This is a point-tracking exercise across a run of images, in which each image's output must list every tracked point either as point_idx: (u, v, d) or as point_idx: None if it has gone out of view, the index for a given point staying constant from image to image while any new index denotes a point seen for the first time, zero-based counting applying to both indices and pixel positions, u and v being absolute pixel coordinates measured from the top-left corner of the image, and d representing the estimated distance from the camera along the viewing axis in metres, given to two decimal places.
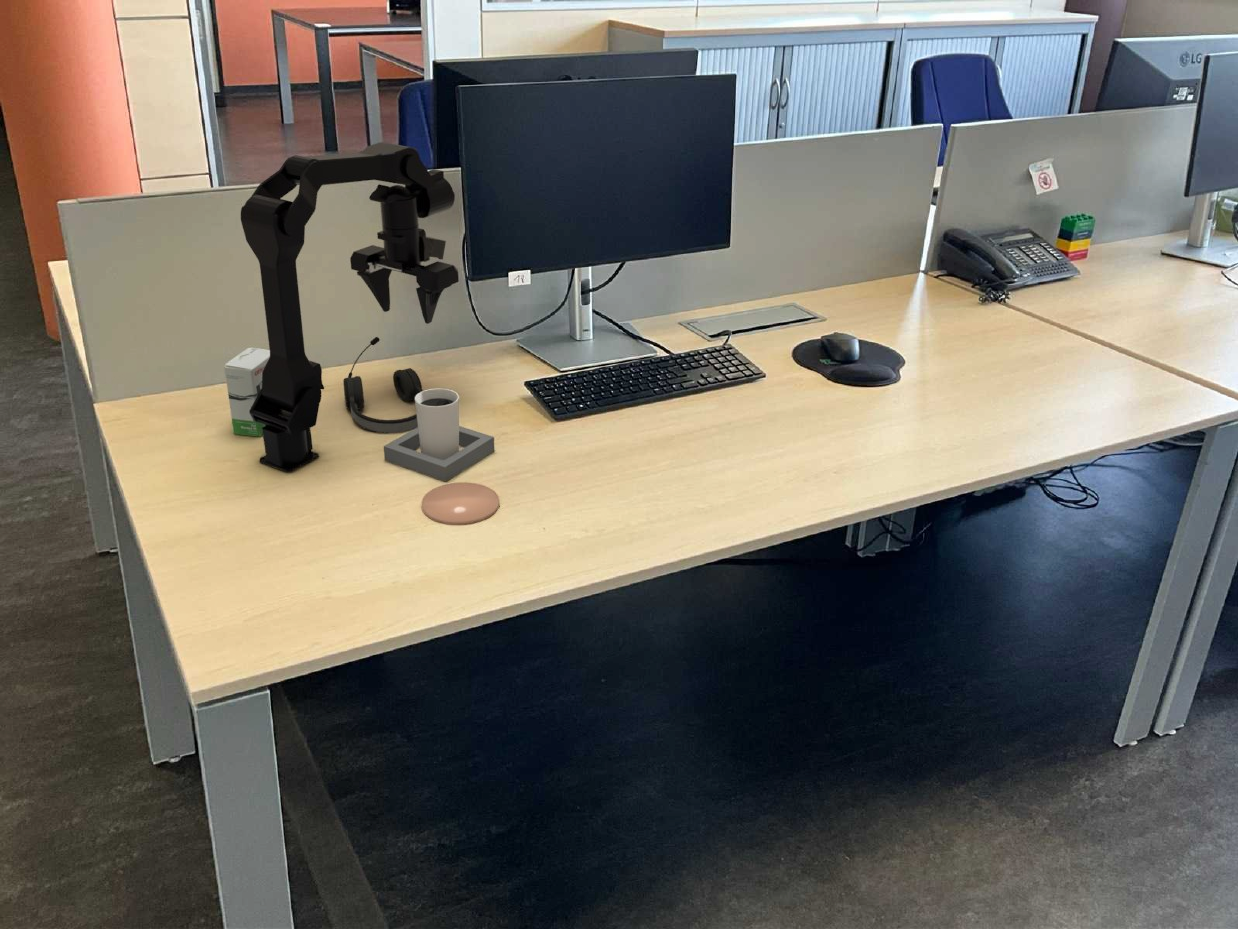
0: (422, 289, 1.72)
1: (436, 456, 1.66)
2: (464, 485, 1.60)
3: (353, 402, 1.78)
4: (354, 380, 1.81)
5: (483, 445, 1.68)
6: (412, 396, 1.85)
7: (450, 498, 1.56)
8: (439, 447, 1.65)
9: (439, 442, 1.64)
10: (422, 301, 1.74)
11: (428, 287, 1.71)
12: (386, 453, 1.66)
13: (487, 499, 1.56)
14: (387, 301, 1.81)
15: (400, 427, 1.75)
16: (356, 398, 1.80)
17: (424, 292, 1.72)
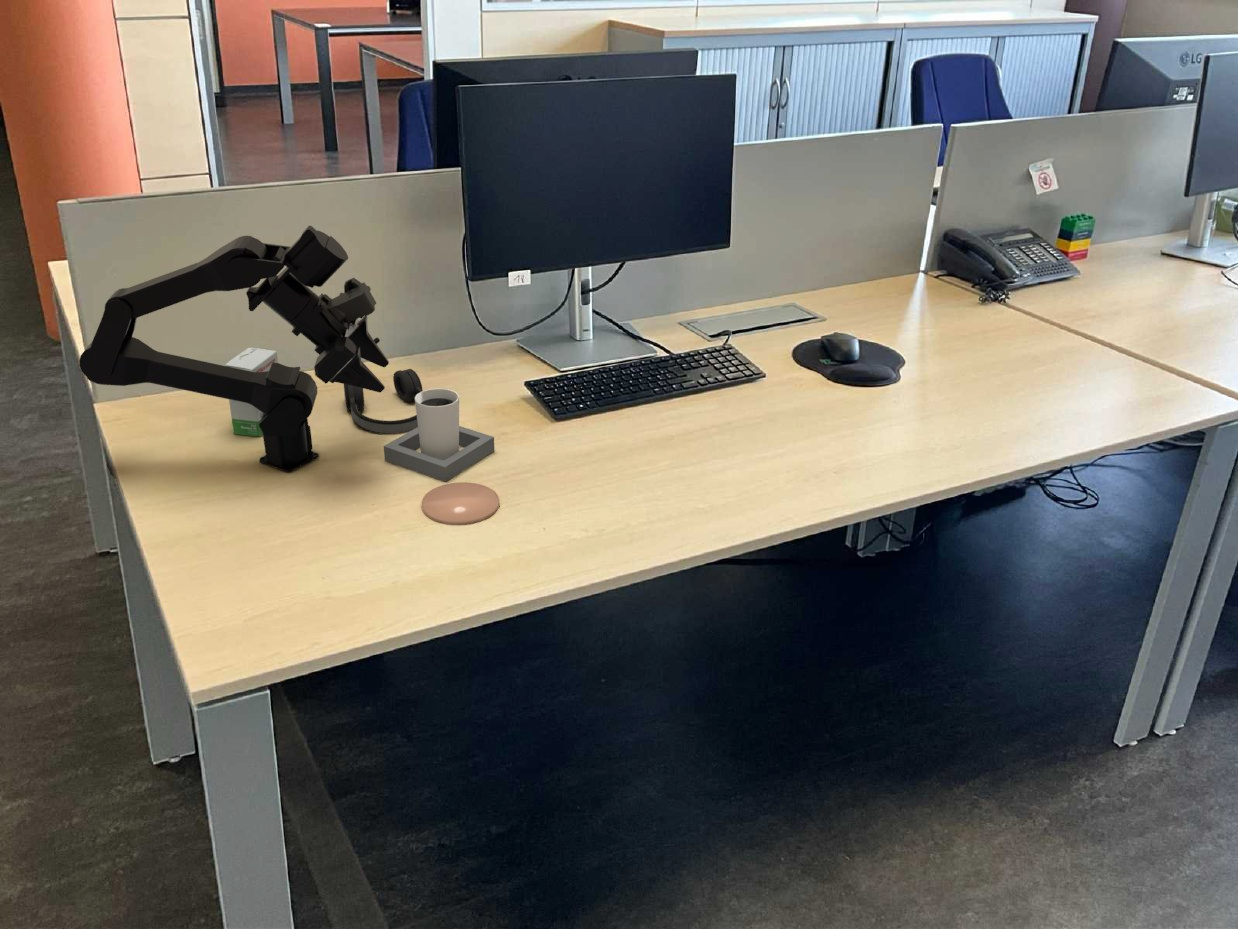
0: None
1: (436, 456, 1.66)
2: (464, 485, 1.60)
3: (353, 403, 1.78)
4: None
5: (483, 445, 1.68)
6: (412, 397, 1.84)
7: (450, 498, 1.56)
8: (439, 447, 1.65)
9: (439, 442, 1.64)
10: None
11: None
12: (386, 453, 1.66)
13: (487, 499, 1.56)
14: (379, 357, 1.65)
15: (400, 428, 1.75)
16: (356, 399, 1.80)
17: None
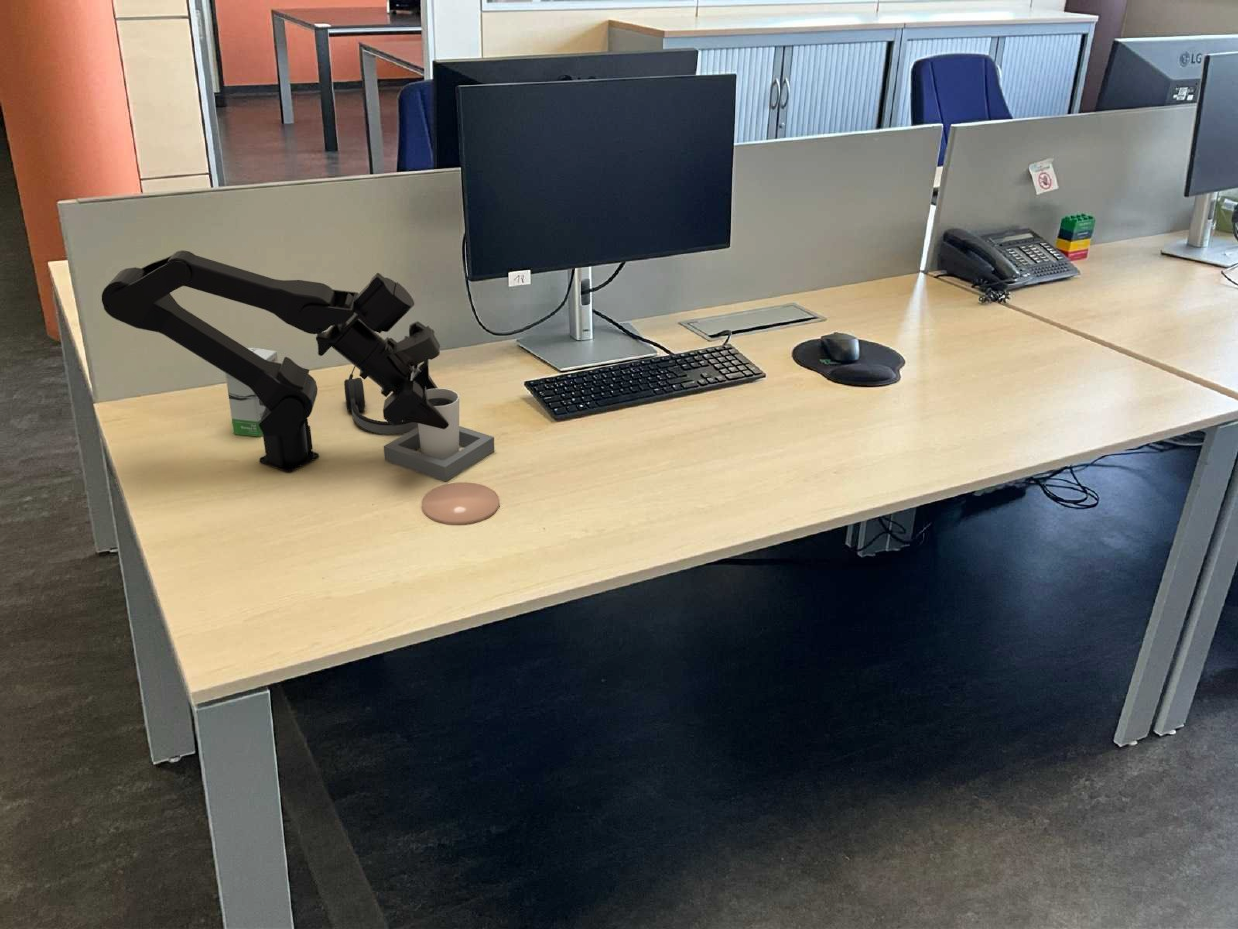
0: None
1: (436, 456, 1.66)
2: (464, 485, 1.60)
3: (353, 404, 1.78)
4: (355, 382, 1.81)
5: (483, 445, 1.68)
6: None
7: (450, 498, 1.56)
8: (439, 447, 1.65)
9: (439, 442, 1.64)
10: None
11: None
12: (386, 453, 1.66)
13: (487, 499, 1.56)
14: None
15: (401, 429, 1.75)
16: (357, 400, 1.80)
17: None
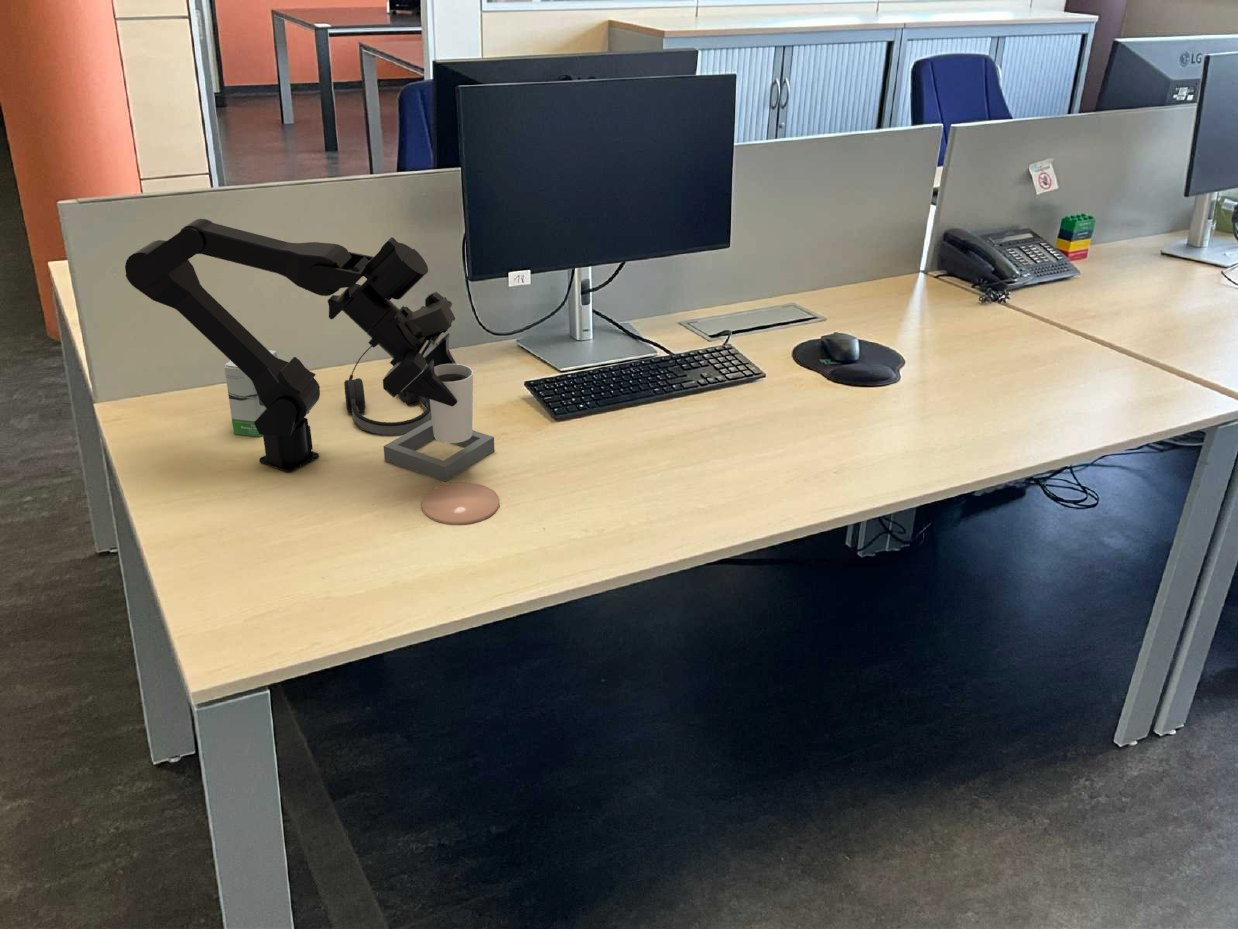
0: None
1: (445, 434, 1.59)
2: (464, 485, 1.60)
3: (354, 404, 1.78)
4: (355, 382, 1.81)
5: (483, 445, 1.68)
6: (413, 398, 1.84)
7: (450, 498, 1.56)
8: (448, 425, 1.58)
9: (448, 419, 1.57)
10: None
11: None
12: (386, 453, 1.66)
13: (487, 499, 1.56)
14: None
15: (402, 429, 1.75)
16: (357, 400, 1.79)
17: None
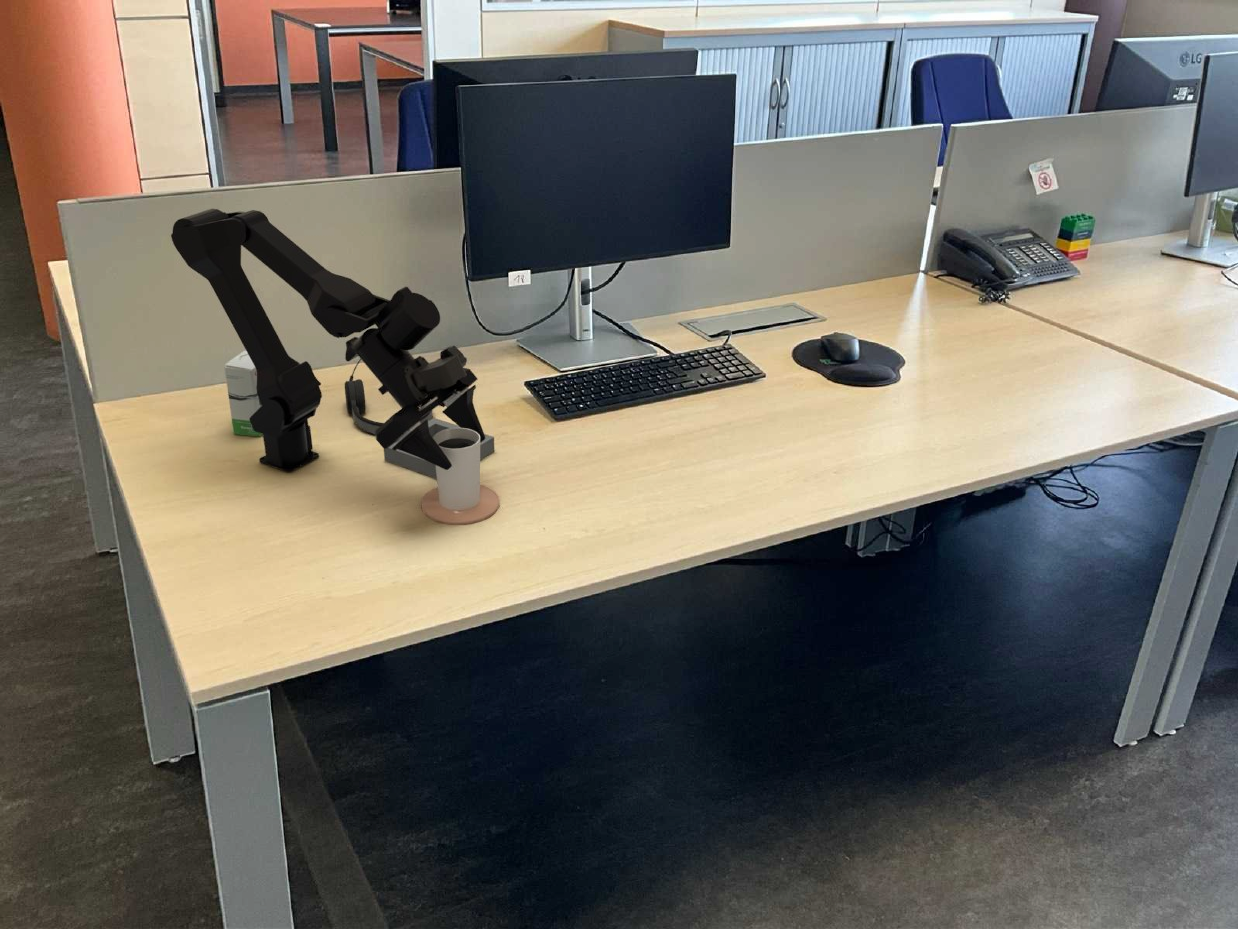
0: None
1: (446, 500, 1.53)
2: None
3: (354, 405, 1.77)
4: (355, 383, 1.80)
5: (483, 445, 1.68)
6: None
7: None
8: (448, 491, 1.52)
9: (448, 486, 1.51)
10: None
11: None
12: (386, 453, 1.66)
13: (487, 499, 1.56)
14: None
15: None
16: (357, 401, 1.79)
17: None
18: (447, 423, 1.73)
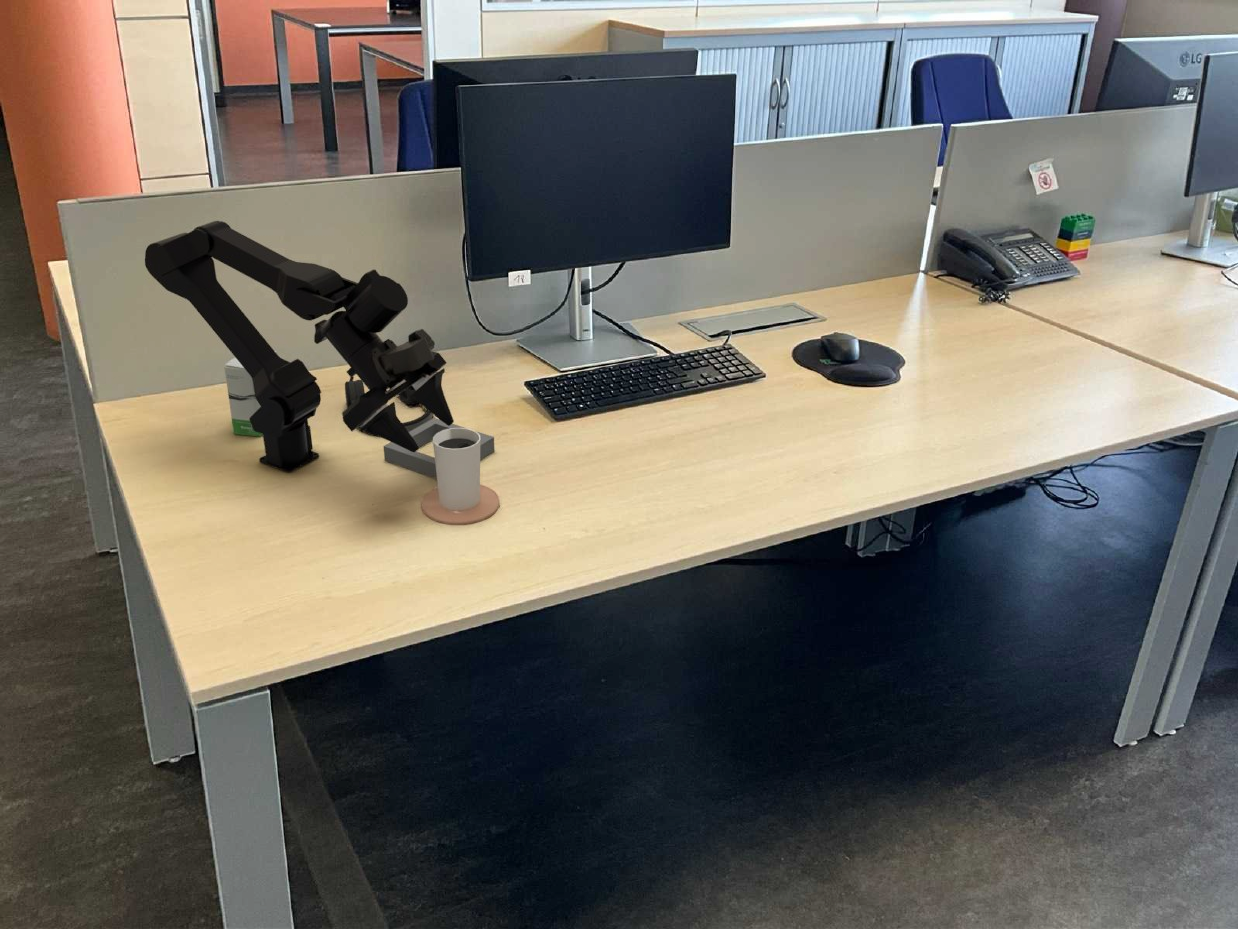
0: None
1: (446, 500, 1.53)
2: None
3: None
4: (356, 384, 1.80)
5: (483, 445, 1.68)
6: (414, 399, 1.84)
7: None
8: (448, 491, 1.52)
9: (448, 486, 1.51)
10: None
11: None
12: (386, 453, 1.66)
13: (487, 499, 1.56)
14: (444, 414, 1.56)
15: None
16: None
17: None
18: None
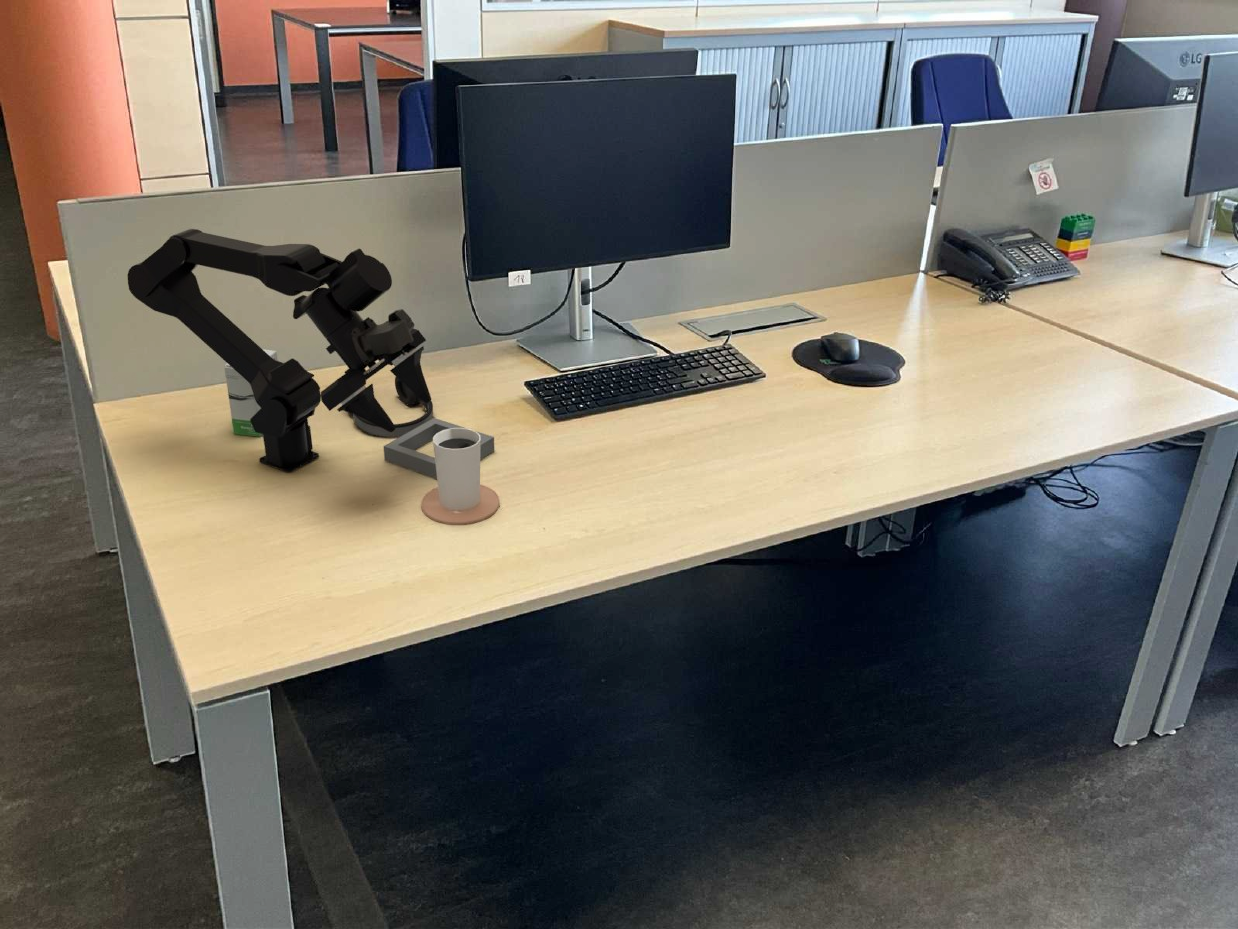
0: None
1: (446, 500, 1.53)
2: None
3: None
4: None
5: (483, 445, 1.68)
6: (414, 400, 1.83)
7: None
8: (448, 491, 1.52)
9: (448, 486, 1.51)
10: None
11: None
12: (386, 453, 1.66)
13: (487, 499, 1.56)
14: (422, 392, 1.58)
15: (403, 431, 1.74)
16: None
17: None
18: (447, 423, 1.73)
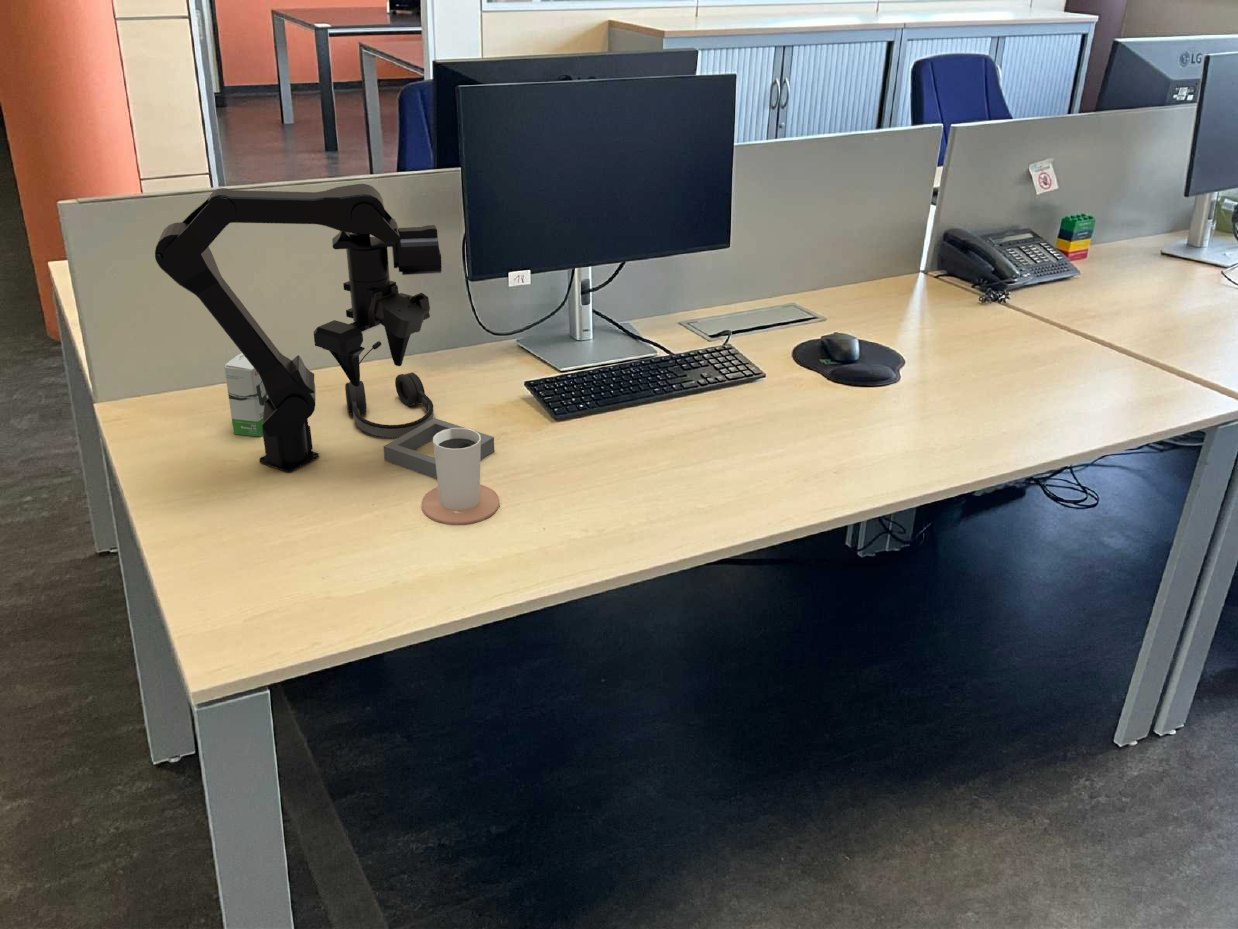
0: None
1: (446, 500, 1.53)
2: None
3: (355, 407, 1.77)
4: None
5: (483, 445, 1.68)
6: (415, 401, 1.83)
7: None
8: (448, 491, 1.52)
9: (448, 486, 1.51)
10: None
11: None
12: (386, 453, 1.66)
13: (487, 499, 1.56)
14: (397, 355, 1.66)
15: (403, 432, 1.74)
16: (358, 403, 1.79)
17: None
18: (447, 423, 1.73)
